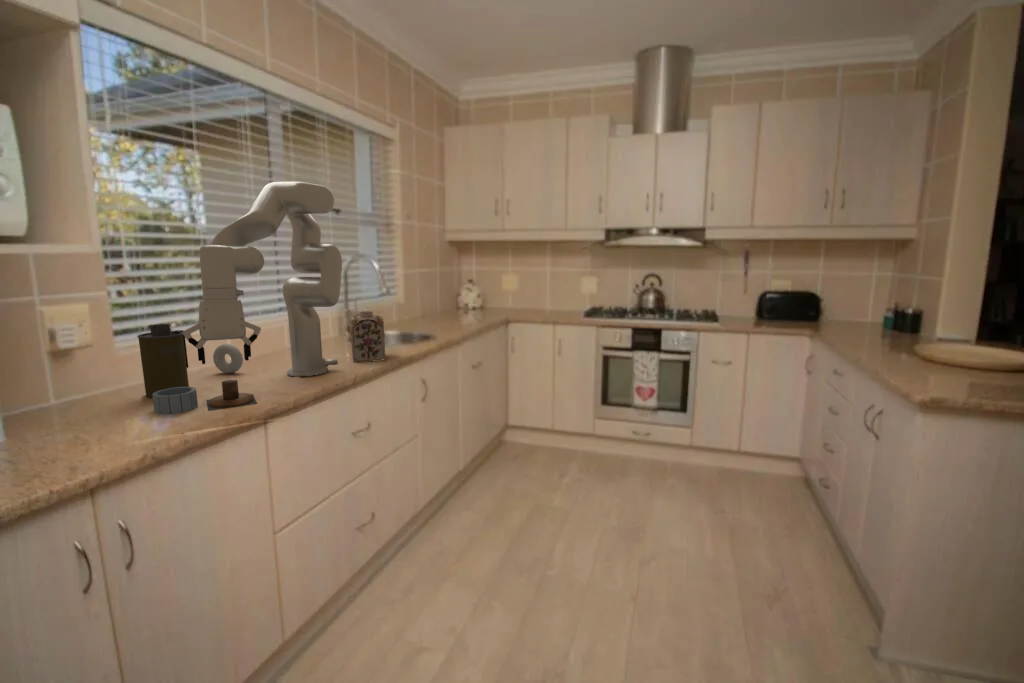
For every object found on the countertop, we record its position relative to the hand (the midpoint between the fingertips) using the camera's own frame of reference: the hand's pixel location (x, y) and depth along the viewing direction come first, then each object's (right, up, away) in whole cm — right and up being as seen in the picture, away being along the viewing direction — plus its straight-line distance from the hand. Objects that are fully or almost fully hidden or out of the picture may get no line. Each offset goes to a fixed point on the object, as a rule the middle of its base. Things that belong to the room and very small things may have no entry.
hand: (225, 361), depth 127 cm
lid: (0, -11, +3) cm, 11 cm away
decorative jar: (+20, -2, +60) cm, 63 cm away
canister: (-22, -10, +11) cm, 26 cm away
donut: (-19, -6, +36) cm, 41 cm away
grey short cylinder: (-10, -12, -3) cm, 16 cm away
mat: (0, -11, +3) cm, 12 cm away
